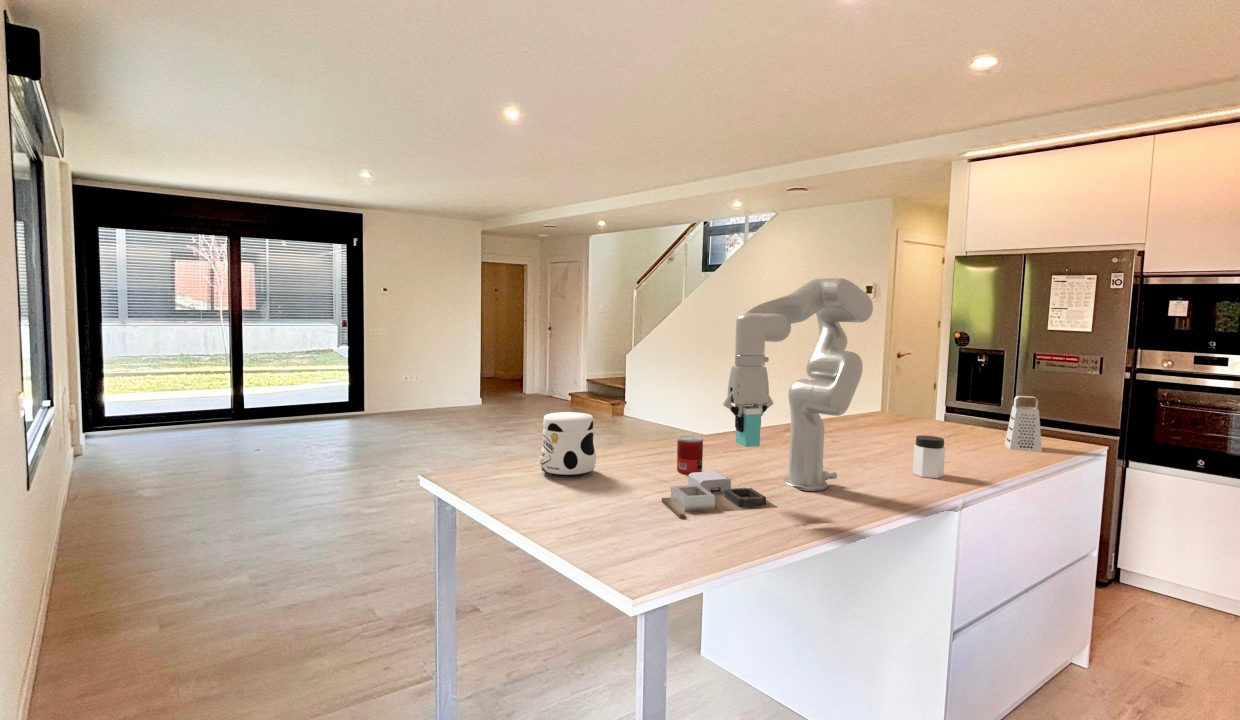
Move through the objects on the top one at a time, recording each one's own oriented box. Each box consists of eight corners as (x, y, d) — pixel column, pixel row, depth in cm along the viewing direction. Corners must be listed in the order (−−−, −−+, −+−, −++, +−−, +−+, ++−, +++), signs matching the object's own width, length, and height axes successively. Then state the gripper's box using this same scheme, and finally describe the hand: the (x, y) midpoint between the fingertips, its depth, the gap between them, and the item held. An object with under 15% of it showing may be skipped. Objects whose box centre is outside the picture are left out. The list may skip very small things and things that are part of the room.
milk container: (528, 474, 199) (528, 416, 198) (564, 463, 214) (564, 409, 212) (572, 484, 190) (572, 423, 188) (606, 472, 204) (607, 415, 202)
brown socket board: (753, 495, 181) (753, 485, 181) (778, 511, 168) (778, 499, 167) (661, 501, 174) (661, 490, 174) (679, 518, 160) (680, 506, 160)
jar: (948, 478, 204) (951, 440, 203) (926, 479, 202) (928, 441, 201) (929, 470, 212) (931, 434, 211) (907, 471, 211) (909, 435, 210)
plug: (749, 441, 175) (750, 404, 174) (759, 446, 169) (760, 408, 168) (735, 442, 174) (736, 405, 173) (745, 447, 168) (746, 408, 167)
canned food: (703, 475, 202) (704, 440, 201) (677, 474, 202) (678, 440, 201) (700, 469, 210) (701, 435, 209) (675, 468, 210) (676, 435, 209)
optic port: (699, 497, 175) (699, 485, 174) (714, 509, 165) (715, 495, 165) (670, 499, 172) (670, 486, 172) (684, 511, 163) (684, 497, 162)
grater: (1041, 452, 244) (1045, 399, 242) (1009, 449, 248) (1013, 397, 246) (1035, 446, 254) (1038, 396, 252) (1004, 444, 258) (1007, 394, 256)
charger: (708, 481, 196) (730, 495, 182) (680, 483, 194) (700, 497, 179) (708, 465, 196) (731, 478, 181) (680, 467, 193) (700, 480, 179)
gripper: (771, 359, 175) (769, 426, 177) (714, 360, 171) (712, 429, 173) (785, 362, 168) (783, 432, 170) (726, 363, 164) (724, 435, 165)
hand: (747, 430), depth 171 cm, fingers closed on plug, 4 cm apart
